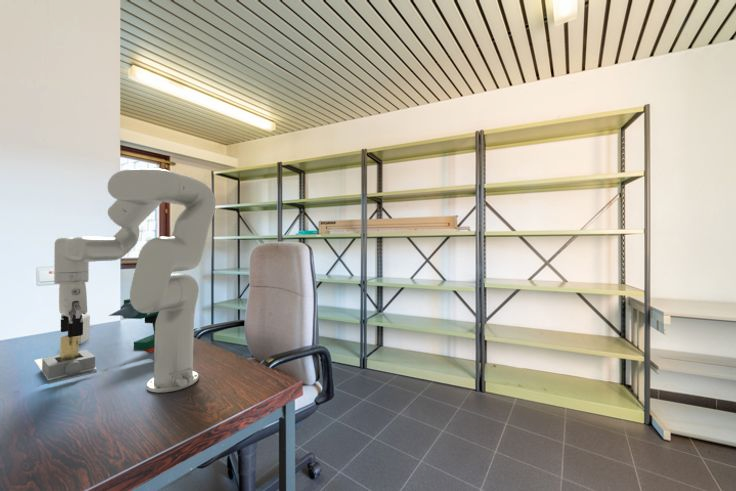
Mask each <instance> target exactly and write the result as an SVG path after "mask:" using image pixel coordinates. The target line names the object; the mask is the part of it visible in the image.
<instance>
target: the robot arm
mask: <svg viewBox="0 0 736 491" xmlns="http://www.w3.org/2000/svg"><path fill="white" fill-rule="evenodd" d="M107 191H108V194H109V195H110V196H111V197H112V198H113V199H115V201H114V202H113V204H111V205H110V207H109V208H108V209H107V215H108V217H109V219H110V220H111V221H112V222H113V223H114V224H115V225H117V226H119V227H120V229H119V230H118V231H117V232H116V233H115V234H114V235H113V236H111V237H106V236H77V237H59V238H57V239H56V240H55V241H54V257H53V258H54V260H53V262H54V264H53V265H54V271H53V272H54V274H53V275H54V276H53V279H54V280H53V281H54V284H55V285H58V286H59V287H58V308H59V309H58V310H59V313H60V314H61V316H60V318H61V319H60V332H61V333H65V332H66V333H67V335H68V337H75V336H81V335H83V318H82V314H86V313H88V300H87V297H88V296H87V295H88V294H87V287H86V283H88V282H89V267H90V266H89V263H91V262H109V261H111V262H112V261H113V262H114V261H117V260H120V259H122V258H123V257H125V256H126V255H127V254H129V252H131V250H132V249H134V247H135V246H136V245H137V244H138V241H139V239H140V225H141V224H142V223H144V221H145V220H146V219H147V218H148V217H149V216H150V215H151V214H152V213H153V212H154V211H155V210H156V209H157V208H158V207H159V206H160V205H161V204H162V203H168V204H173V205H178V206H179V205H180V206H183V207H184V208H185V209H184V210H182V212H180V214H179V215H178V216H177V218H176V220H175V224H174V227H173V231H172V233H171V236H158V237H154V238H152V239H149V240H147V241H146V243H144V245H143V246H142V247H141V249H140V251H139V254H138V257H137V261H136V265H135V269H134V273H133V276H132V281H131V285H130V290H129V299H130V301H131V304H132V306H133V307H134V309H135V310H137V311H139V312H141V313H153V312H158V311H159V314H158V316H157V319H156V324H155V348H154V351H153V352H154V354H153V356H154V357H153V377H152V378H150V380H148V382H147V383H146V389H147V391H149V392H152V393H156V394H157V393H158V394H159V393H161V394H162V393H170V392H175V391H180V390H183V389H185V388H188V387H190V386H192V385H195V384H196V382H197V381H199V373H198V372H197V371H195V370H193V369H194V337H195V331H194V330H195V314H196V312H195V311H196V307H197V306H196V305H197V302H198V297H199V284H198V282H197V280H196V279H195V278H194V277H193V276H192V275H189V274H186V273H176V272H184V271H190V270H194V269H196V268H197V267H198V266H199V265H200V263H201V261H202V256H203V253H204V250H205V245H206V242H207V238H208V233H209V229H210V226H211V223H212V220H213V219H214V218H213V217H214V215H215V211H216V207H217V206H216V205H217V204H216V203H217V202H216V198H215V195H214V194H215V193H214V192H213V191H212V189H211V188H210V187H209V186H208V185H207V184H206V183H204V182H202V181H200V180H198V179H196V178H193V177H189V176H187V175H184V174H180V173H177V172H174V171H171V170H167V169H162V168H142V169H141V168H137V169H134V168H132V169H122V170H120V171H117V172H115V173H114V174H112V175H111V177H110V178H109V179H108V182H107ZM54 284H53V285H54Z"/></svg>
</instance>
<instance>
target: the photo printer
mask: <svg viewBox="0 0 736 491" xmlns="http://www.w3.org/2000/svg"><path fill="white" fill-rule="evenodd" d="M82 318H83V335H81V336H79V345H81V344H84V343H85V342H87V341H89V340H90V334H91V333H90V330H91V329H90V328H91V327H90V326H91V316H90V313H88V312H87V313H86V314H82Z"/></svg>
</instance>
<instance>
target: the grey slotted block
mask: <svg viewBox="0 0 736 491" xmlns="http://www.w3.org/2000/svg"><path fill="white" fill-rule="evenodd" d="M33 361H34V362H35V363H36V365H37V366H38V368H39V370H40V371H41V372H42V374H43V375H44V376H45V378H46V379H47V381H50V382H47V385H51V384H55V383H60V382H62V381H63V382H64V381H67V380H71V379H75V378H79V377H83V376H84V377H85V376H86V375H87V376H88V375H92V374H96V373H97V367H96V355H94V354H93V353H92V352H91V351H89V350H88V349H83V350H79V351H78V358H77V359H72V360H67V361H62V362H60V354H57V355H52V356H49V357H42V358H38V359H34V360H33ZM92 370H93V371H92ZM88 371H89V372H88ZM90 371H91V372H90ZM81 373H82V374H81ZM67 376H70V377H67ZM63 377H66V378H63ZM59 378H61V379H59ZM54 379H55V380H54ZM56 379H57V380H56ZM51 380H53V381H51Z"/></svg>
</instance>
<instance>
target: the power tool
mask: <svg viewBox="0 0 736 491" xmlns="http://www.w3.org/2000/svg"><path fill="white" fill-rule="evenodd" d="M158 314H159V311H158V312H153V313H141V312H139V311H137V310H135V309H134V307H133V306H132V304H131V301H130V298H127V299H124V300H123V304H122V305H121V306H120V309H119V310H117V311H115V312H113V313H111V314H109V315H108V316H109V317H110V316H113V317H115V316H117V317H118V316H121V317H123V319H128V320H129V319H131V320H132V319H134V320H142V319H144V324H152V328H153V333H152V334H151V335H148V336H146V337H144V338H141V339H138V340H135V341H134V342H133V349H134V350H143V351H144V352H146V353H147V354H149V353H152V352H154V348H155V324H156V319H157V316H158Z"/></svg>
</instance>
